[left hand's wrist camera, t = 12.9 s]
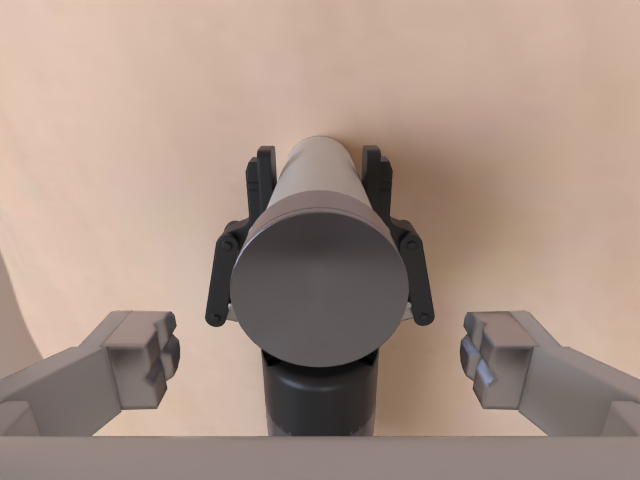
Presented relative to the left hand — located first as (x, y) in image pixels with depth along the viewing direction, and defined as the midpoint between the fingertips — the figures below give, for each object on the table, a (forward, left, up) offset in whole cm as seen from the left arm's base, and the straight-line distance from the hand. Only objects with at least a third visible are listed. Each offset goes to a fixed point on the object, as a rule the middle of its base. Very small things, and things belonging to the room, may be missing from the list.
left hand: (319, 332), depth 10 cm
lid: (0, 0, -2) cm, 2 cm away
